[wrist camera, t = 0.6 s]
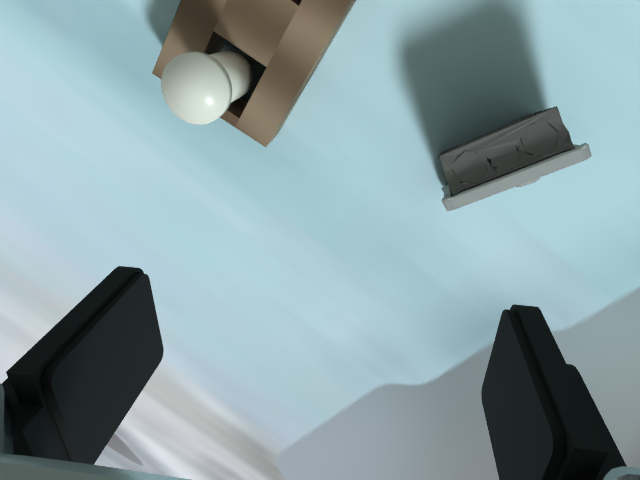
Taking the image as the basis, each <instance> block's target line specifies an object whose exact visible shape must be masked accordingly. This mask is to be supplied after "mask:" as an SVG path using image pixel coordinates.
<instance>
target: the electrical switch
mask: <svg viewBox="0 0 640 480" xmlns="http://www.w3.org/2000/svg"><path fill="white" fill-rule="evenodd" d="M533 114H534V116H533ZM533 114H531V115H528V116H526V117H524V118H521V119H519V120H517V121H514V122H512V123H510V124H507V125H505V126H503V127H500V128H498V129H496V130H493V131H491V132H489V133H486V134H484V135H482V136H479V137H477V138H475V139H472V140H470V141H468V142H465V143H463V144H461V145H458V146H456V147H454V148H451V149H449V150H447V151H444V152H442V153H440V154H439V156H438V158H439V162H440V165H441V168H442V171H443V174H444V176H445V179H446V181H447V183H448V185H446V186H444V187H443V188H442V190H443V192H444V198H443V199H442V202H443V204H444V206H445V208H446V210H447V211H450V210H455V209H457V208H460V207H463V206H465V205H468V204H470V203H473V202H476V201H478V200H481V199H484V198H486V197H489V196H492V195H494V194H497V193H500V192H502V191H505V190H507V189H510V188H513V187H515V186H516V187H522V186H525V185H528V184H531V183H534V182H536V181H537V180H539V179H540V177H542V176H544V175H547V174H550V173H552V172H555V171H558V170H560V169H563V168H566V167H568V166H571V165H574V164H576V163H579V162H582V161H584V160H586V159H588V158H589V157H591V152H590V149H589V145H588V144H587V143H584V144H582V145H580V146H579V145H573V144H572V141H571V139H570V135H569V132H568V130H567V129H566V127H565V126H564V124H563V122H562V119H561V117H560V114H559V111H558V108H557V107H553V108H550V109H546V110H543V111H539V112H536V113H533ZM440 155H441V156H440Z"/></svg>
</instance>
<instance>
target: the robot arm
mask: <svg viewBox="0 0 640 480" xmlns="http://www.w3.org/2000/svg"><path fill="white" fill-rule="evenodd" d="M162 357H163V344H162V339H161V334H160V329H159V325H158V320H157V315H156V310H155V305H154V300H153V295H152V290H151V285H150V280H149V277H148V275H147V274H144V273H143V271H142V269H140V268H133V267H123V266H119V267H117V268H115V269H114V270H113V271H112V272H111V273H110V274H109V275H108V276H107V277H106V278H105V279H104V280H103V281H102V282H101V283H100V284H99V285H97V286H96V287H95V288H94V289H93V290H92V291H91V292H90V293H89V294H88V295H87V296H86V297H85V298H84V299H83V300H82V301H81V302H80V303H78V304H77V305H76V306H75V307H74V308H73V309H72V310H71V311H70V312H69V313H68V314H67V315H66V316H65V317H64V318H63V319H62V320H61V321H60V322H58V323H57V324H56V325H55V326H54V327H53V328H52V329H51V330H50V331H49V332H48V333H47V334H46V335H45V336H44V337H43V338H42V339H41V340H39V341H38V342H37V343H36V344H35V345H34V346H33V347H32V348H31V349H30V350H29V351H28V352H27V353H26V354H25V355H24V356H23V357H22V358H21V359H19V360H18V361H17V362H16V363H15V364H14V365H13V366H12V367H11V368H10V369H9V370H8V371H7V372H6V373H7V376H8V378H7V379H6V380H5V381H4V382H3V383H2V384H0V480H190V479H184V478H177V477H171V476H164V475H157V474H151V473H144V472H138V471H131V470H124V469H118V468H111V467H105V466H98V465H94V463H95V462H96V460H97V459H98V457H99V455H100V454H101V452H102V451H103V449H104V448H105V446H106V445H107V443H108V442H109V440H110V438H111V437H112V435H113V434H114V432H115V431H116V429H117V428H118V426H119V425H120V423H121V422H122V420H123V419H124V417H125V416H126V414H127V413H128V411H129V409H130V408H131V406H132V405H133V403H134V402H135V400H136V399H137V397H138V396H139V394H140V393H141V391H142V390H143V388H144V386H145V385H146V383H147V382H148V380H149V379H150V377H151V376H152V374H153V373H154V371H155V370H156V368H157V367H158V365H159V363H160V362H161V360H162ZM482 404H483V408H484V412H485V417H486V421H487V426H488V430H489V434H490V439H491V443H492V448H493V453H494V457H495V462H496V466H497V471H498V475H499V480H640V469H639V468H635V467H627V466H626V464H625V462H624V460H623V458H622V456H621V454H620V452H619V450H618V448H617V446H616V444H615V442H614V440H613V438H612V436H611V434H610V432H609V430H608V429H607V427H606V425H605V423H604V421H603V419H602V417H601V415H600V413H599V411H598V409H597V407H596V405H595V403H594V401H593V399H592V397H591V395H590V393H589V391H588V389H587V387H586V385H585V383H584V381H583V379H582V377H581V375H580V373H579V372H578V370H577V369H576V367H574V366H573V365H570V364H566V362H565V360H564V358H563V356H562V354H561V352H560V350H559V348H558V346H557V344H556V341H555V339H554V337H553V335H552V333H551V331H550V329H549V327H548V325H547V323H546V321H545V319H544V317H543V314H542V312H541V310H540V309H539V308H538V307H534V306H524V305H512V307H511V308H510V310H503V312H502V315H501V319H500V322H499V326H498V330H497V334H496V337H495V341H494V345H493V349H492V352H491V356H490V360H489V363H488V368H487V371H486V375H485V378H484V382H483V386H482Z"/></svg>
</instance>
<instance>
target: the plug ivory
mask: <svg viewBox="0 0 640 480" xmlns="http://www.w3.org/2000/svg"><path fill="white" fill-rule="evenodd" d="M251 84H252V70H251V67H250V65H249V63H248V62H247V60H246V59H245V58H244V57H243V56H242V55H240V54H239V53H237V52H234V51H222V52H218V53H214V54H210V55H208V54H206V53H202V52H189V53H184V54H180V55H178V56H176V57H174V58H173V59H171V60H170V61H169V62H168V64H167V65H166V66H165V68H164V71H163V74H162V79H161V88H162V93H163V96H164V99H165V101H166V103H167V105H168V106H169V108H170V109H171V110H172V112H173V113H174V114H175V115H176V116H178V117H179V118H180V119H182V120H184V121H186V122H188V123H191V124H197V125H202V124H207V123H210V122H212V121H214V120H216V119H217V118H219V117H220V116H222V115H223V114H224V113H225V112H226V111H227V109H228V107H229V105H230V103H231V102H233V101H235V100H236V99H238V98H240V97H242V96H243V95H245V94H246V93H247V92H248V90H249V89H250V87H251Z"/></svg>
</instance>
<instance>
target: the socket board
mask: <svg viewBox="0 0 640 480" xmlns="http://www.w3.org/2000/svg"><path fill="white" fill-rule="evenodd" d="M355 1H356V0H302V1H300V0H181V2H180V4H179V7H178V9H177V12H176V14H175V17H174V19H173V22H172V24H171V27H170V30H169V32H168V35H167V37H166V40H165V42H164V45H163V47H162V50H161V52H160V55H159V57H158V60H157V62H156V65H155V67H154V70H153V74H154V75H156V76H157V77H159V78H160V79H162V74H163V71H164V68H165V66H166V65H167V64H168V62H169V61H170V60H171V59H173V58H174V57H176V56H178V55H180V54H184V53H189V52H202V53H206V54H208V55H210V54H214V53H218V52H221V50H222V48H223V46H224V43H225V41H226V40H227V41H229V42H230V43H232V44H233V45H235V46H236V47H238V48H239V49H241V50H242V51H244V52H245V53H246V54H248V55H249V56H251V57H252V58H254V59H255V60H257V61H258V62H260V63H261V64H263V65H264V66H265V67H266V69H265V71H264V73H263V75H262V77H261V79H260V81H259V83H258V84H257V86H256V88H255V90H254V92H253V94H252V96H251V98H250V100H249V102H248V103H245V102H244V101H242V100H241V99H239V98H238V99H236V100H235V101H233V102H231V103H230V105H229V107H228V109H227V111H226V112H225V113H224V114H223V115H222V116H220V118H222V119H223V120H225V121H226V122H228V123H229V124H231V125H232V126H234V127H235V128H237V129H239V130H240V131H242V132H243V133H245V134H246V135H248V136H249V137H251V138H252V139H254V140H255V141H257V142H258V143H260V144H262V145H263V146H265V147H266V146H267V145H268V144H269V143H270V142H271V141H272V140H273V139H274V138H275V136H276V135H277V134H278V132H279V131H280V129H281V127H282V126H283V124H284V122H285V120H286V119H287V117H288V115H289V114H290V112H291V110H292V109H293V107H294V105H295V103H296V102H297V100H298V98H299V97H300V95H301V93H302V91H303V90H304V88H305V86H306V85H307V83H308V81H309V80H310V78H311V76H312V74H313V73H314V71H315V69H316V68H317V66H318V64H319V63H320V61H321V59H322V57H323V56H324V54H325V52H326V51H327V49H328V47H329V45H330V44H331V42H332V40H333V39H334V37H335V35H336V34H337V32H338V30H339V28H340V27H341V25H342V23H343V22H344V20H345V18H346V16H347V15H348V13H349V11H350V10H351V8H352V6H353V5H354V3H355Z"/></svg>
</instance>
